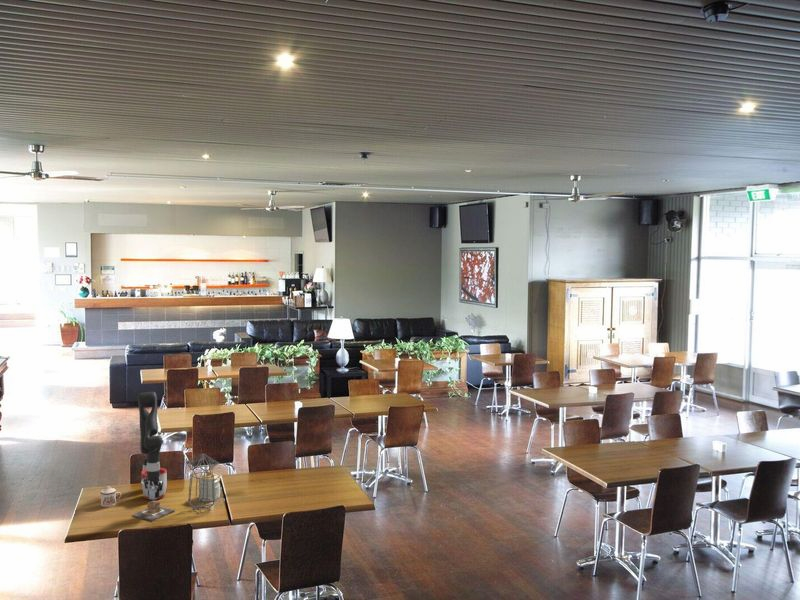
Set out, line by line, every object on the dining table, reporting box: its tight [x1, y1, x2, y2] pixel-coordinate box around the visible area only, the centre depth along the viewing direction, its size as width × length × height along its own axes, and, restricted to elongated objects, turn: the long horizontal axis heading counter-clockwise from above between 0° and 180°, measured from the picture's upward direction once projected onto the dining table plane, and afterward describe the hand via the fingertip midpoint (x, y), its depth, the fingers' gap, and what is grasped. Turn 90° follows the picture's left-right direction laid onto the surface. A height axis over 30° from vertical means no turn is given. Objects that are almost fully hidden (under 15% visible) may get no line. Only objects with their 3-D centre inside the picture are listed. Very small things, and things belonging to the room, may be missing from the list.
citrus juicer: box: [140, 467, 168, 501], centre depth 466 cm, size 16×17×20 cm
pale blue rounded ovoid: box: [149, 487, 158, 500], centre depth 438 cm, size 5×5×6 cm
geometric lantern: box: [185, 453, 220, 514], centre depth 446 cm, size 16×16×35 cm
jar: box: [199, 470, 221, 502], centre depth 467 cm, size 13×13×18 cm
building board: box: [131, 506, 176, 522], centre depth 439 cm, size 18×16×2 cm
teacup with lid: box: [100, 485, 122, 508], centre depth 453 cm, size 12×9×12 cm
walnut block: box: [146, 500, 161, 514], centre depth 439 cm, size 5×5×6 cm
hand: (153, 496), depth 438 cm, fingers closed on pale blue rounded ovoid, 5 cm apart
